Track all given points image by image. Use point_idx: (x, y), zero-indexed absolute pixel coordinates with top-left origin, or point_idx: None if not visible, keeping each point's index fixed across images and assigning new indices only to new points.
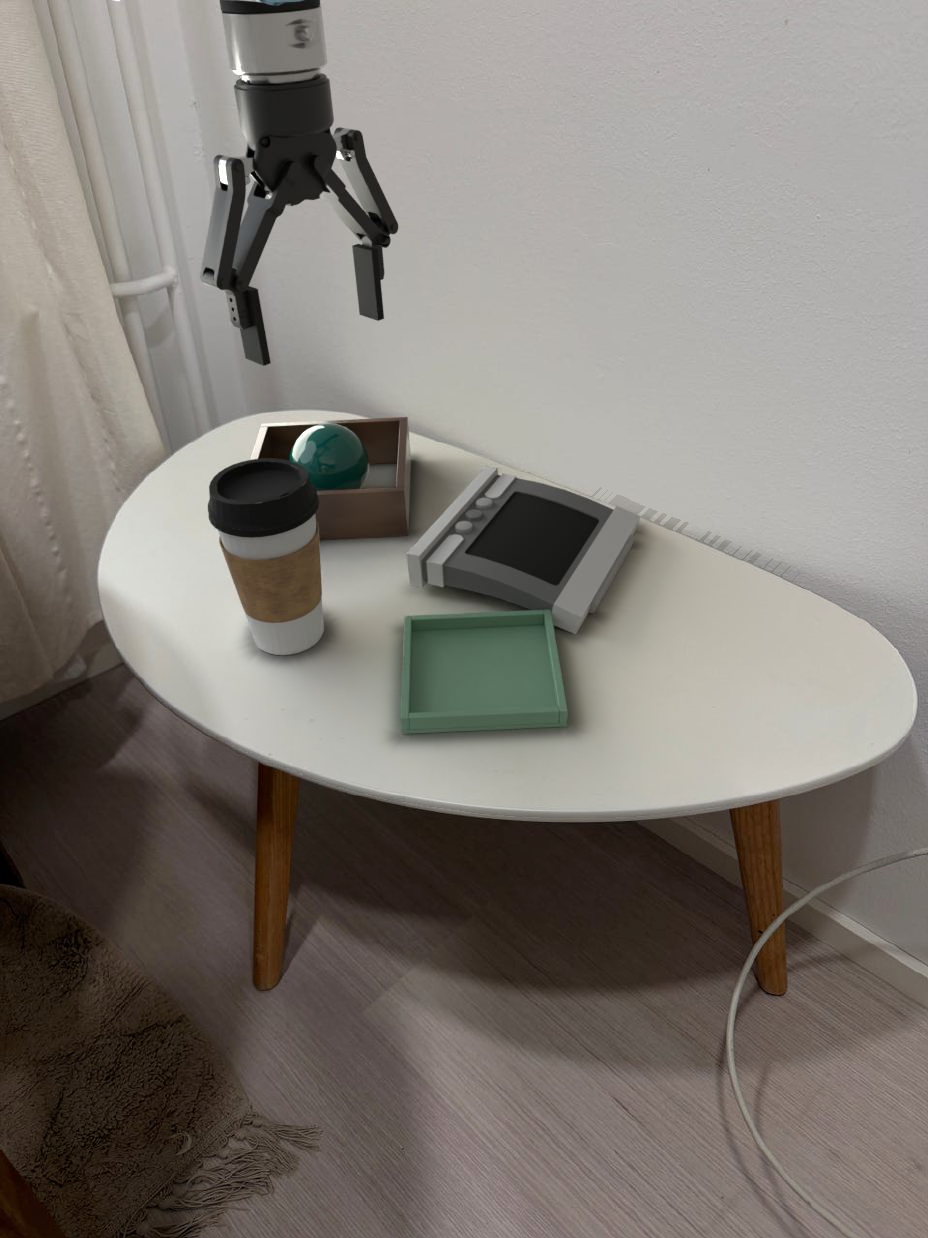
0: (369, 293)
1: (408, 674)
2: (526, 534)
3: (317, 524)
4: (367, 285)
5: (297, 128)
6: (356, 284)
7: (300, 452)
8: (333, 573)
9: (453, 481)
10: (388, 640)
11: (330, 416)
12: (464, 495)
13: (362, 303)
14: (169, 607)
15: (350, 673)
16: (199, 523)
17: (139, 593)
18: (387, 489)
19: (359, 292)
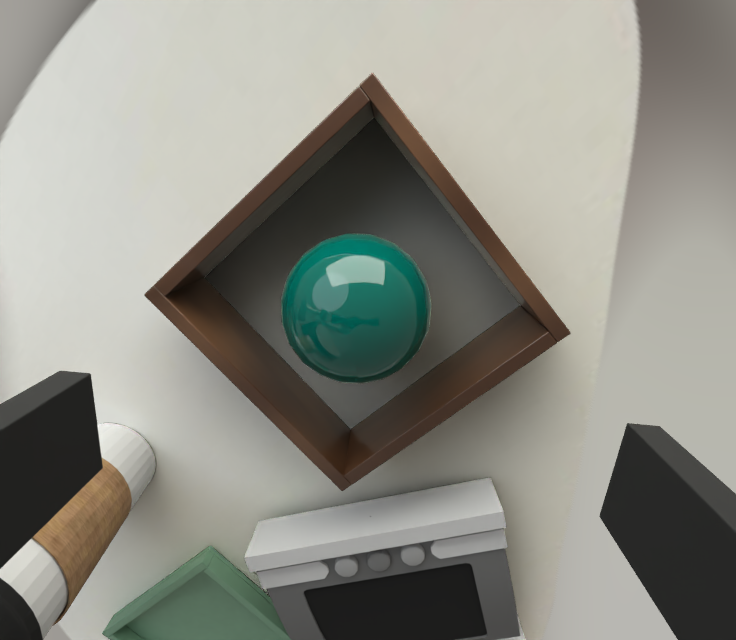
0: (668, 571)
1: (143, 610)
2: (390, 613)
3: (62, 614)
4: (699, 596)
5: None
6: (718, 514)
7: (288, 313)
8: (226, 421)
9: (508, 406)
10: (187, 540)
11: (620, 24)
12: (406, 535)
13: (649, 479)
14: (30, 307)
15: (128, 541)
16: (165, 159)
17: (9, 246)
18: (329, 470)
19: (683, 503)
